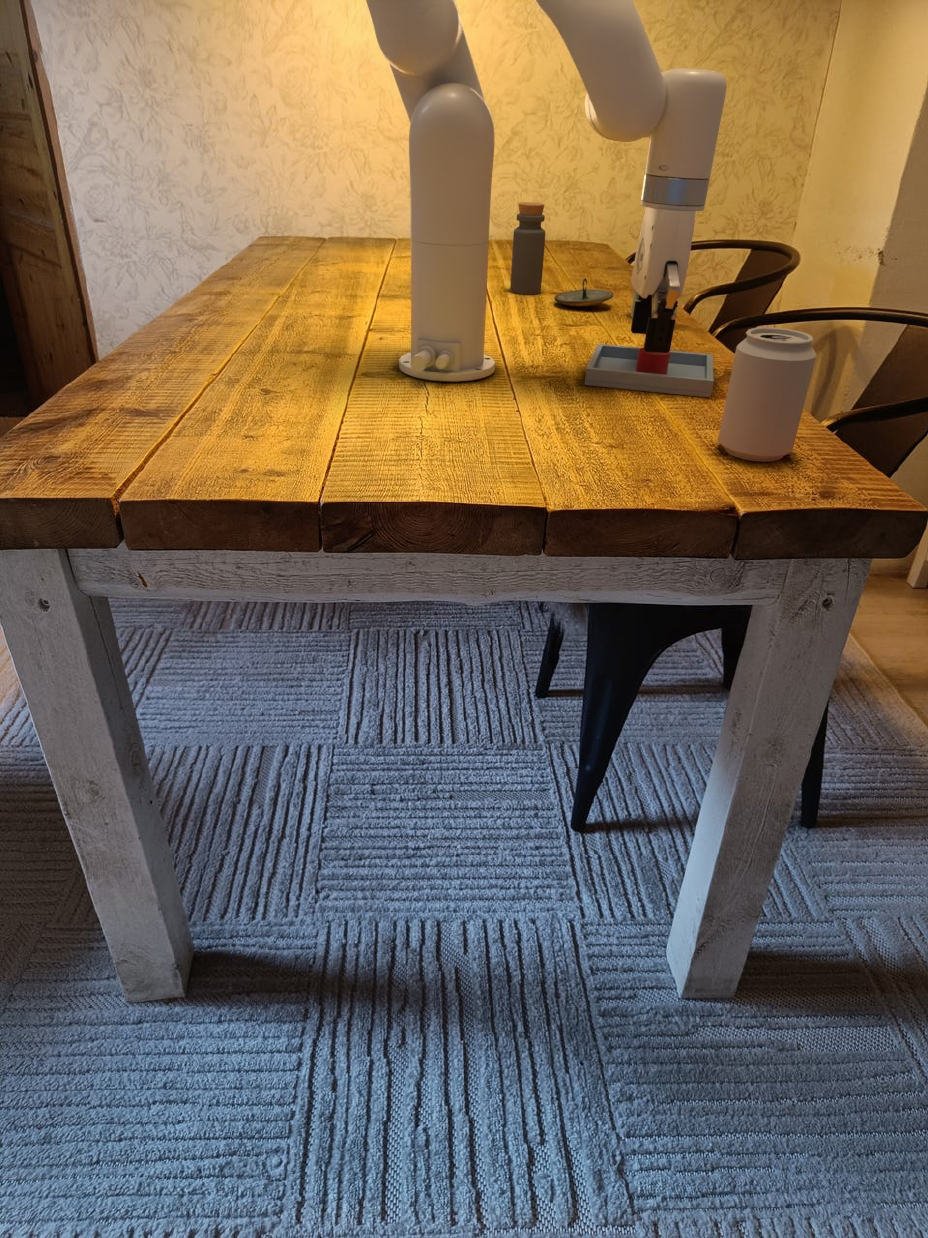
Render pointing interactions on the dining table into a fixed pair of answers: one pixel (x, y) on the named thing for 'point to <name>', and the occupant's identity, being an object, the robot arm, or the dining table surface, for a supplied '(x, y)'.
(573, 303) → the lid
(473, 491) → the dining table surface
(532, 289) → the bottle
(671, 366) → the tray
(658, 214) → the robot arm
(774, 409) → the can
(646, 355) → the cap
